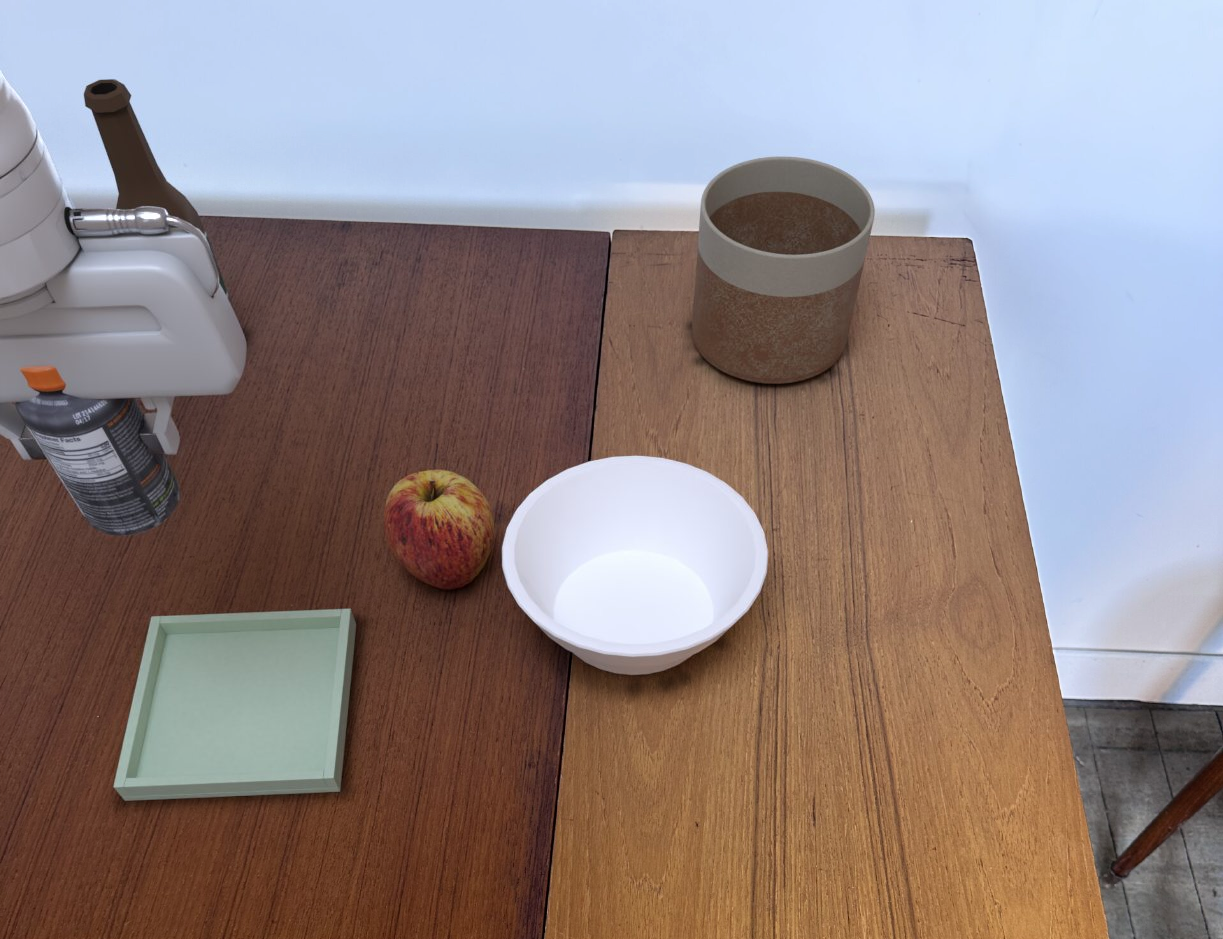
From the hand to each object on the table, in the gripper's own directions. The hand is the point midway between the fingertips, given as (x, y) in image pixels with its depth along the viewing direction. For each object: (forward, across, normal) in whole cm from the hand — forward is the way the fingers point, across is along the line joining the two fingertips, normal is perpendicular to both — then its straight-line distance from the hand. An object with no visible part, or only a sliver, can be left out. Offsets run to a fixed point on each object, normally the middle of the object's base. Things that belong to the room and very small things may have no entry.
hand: (103, 450), depth 59 cm
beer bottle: (+26, +10, -46) cm, 54 cm away
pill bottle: (+4, 0, 0) cm, 4 cm away
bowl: (+26, -32, -8) cm, 42 cm away
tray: (+26, 0, 0) cm, 26 cm away
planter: (+26, -48, -44) cm, 70 cm away
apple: (+26, -16, -14) cm, 34 cm away
